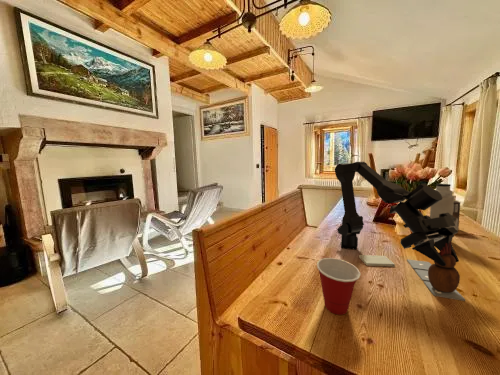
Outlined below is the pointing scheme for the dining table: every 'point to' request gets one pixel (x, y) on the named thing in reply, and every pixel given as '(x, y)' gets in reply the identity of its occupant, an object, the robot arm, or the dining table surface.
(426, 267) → the pad
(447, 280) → the wooden figurine
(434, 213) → the thermos bottle
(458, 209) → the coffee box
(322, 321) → the dining table surface
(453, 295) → the pad
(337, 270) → the plastic cup
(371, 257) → the folded napkin
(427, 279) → the pad
